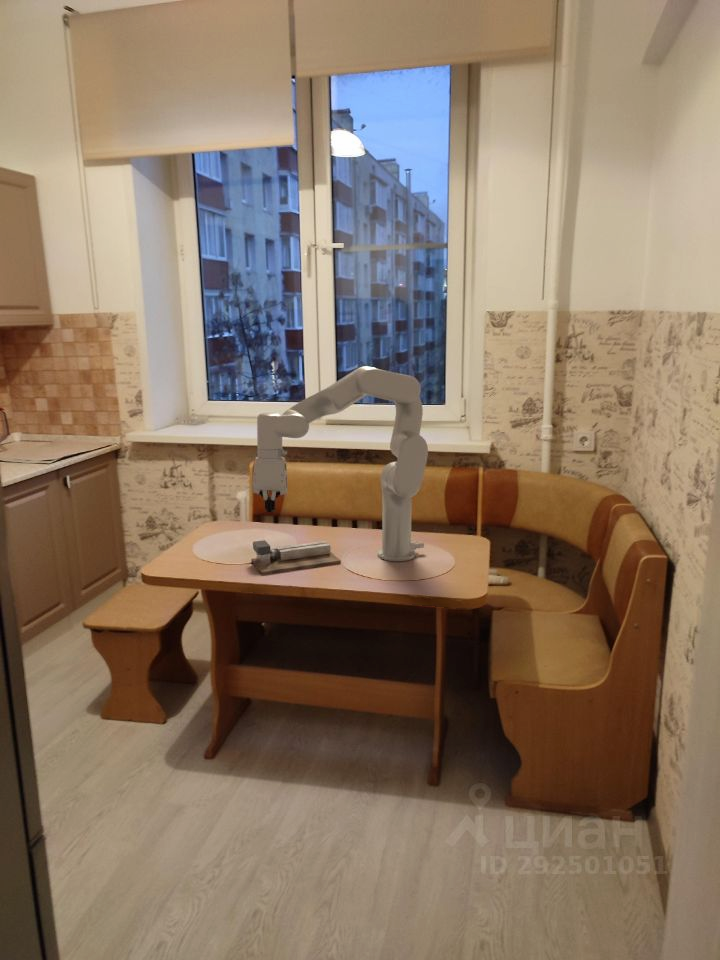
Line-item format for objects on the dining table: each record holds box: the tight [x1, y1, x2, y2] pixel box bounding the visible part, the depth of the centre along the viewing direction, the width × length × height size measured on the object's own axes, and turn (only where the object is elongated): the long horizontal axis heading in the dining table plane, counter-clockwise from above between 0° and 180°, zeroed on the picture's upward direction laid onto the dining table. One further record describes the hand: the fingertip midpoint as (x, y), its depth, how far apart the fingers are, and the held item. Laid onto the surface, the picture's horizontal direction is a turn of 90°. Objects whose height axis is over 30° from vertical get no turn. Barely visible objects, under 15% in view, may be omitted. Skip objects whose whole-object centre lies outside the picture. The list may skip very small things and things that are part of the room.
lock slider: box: [252, 539, 271, 555], centre depth 213 cm, size 4×6×2 cm, turn 23°
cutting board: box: [251, 551, 342, 576], centre depth 216 cm, size 26×13×1 cm, turn 113°
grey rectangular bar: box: [270, 542, 332, 561], centre depth 218 cm, size 20×4×3 cm, turn 114°
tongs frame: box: [255, 540, 328, 565], centre depth 217 cm, size 24×6×3 cm, turn 113°
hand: (270, 511), depth 207 cm, fingers closed
